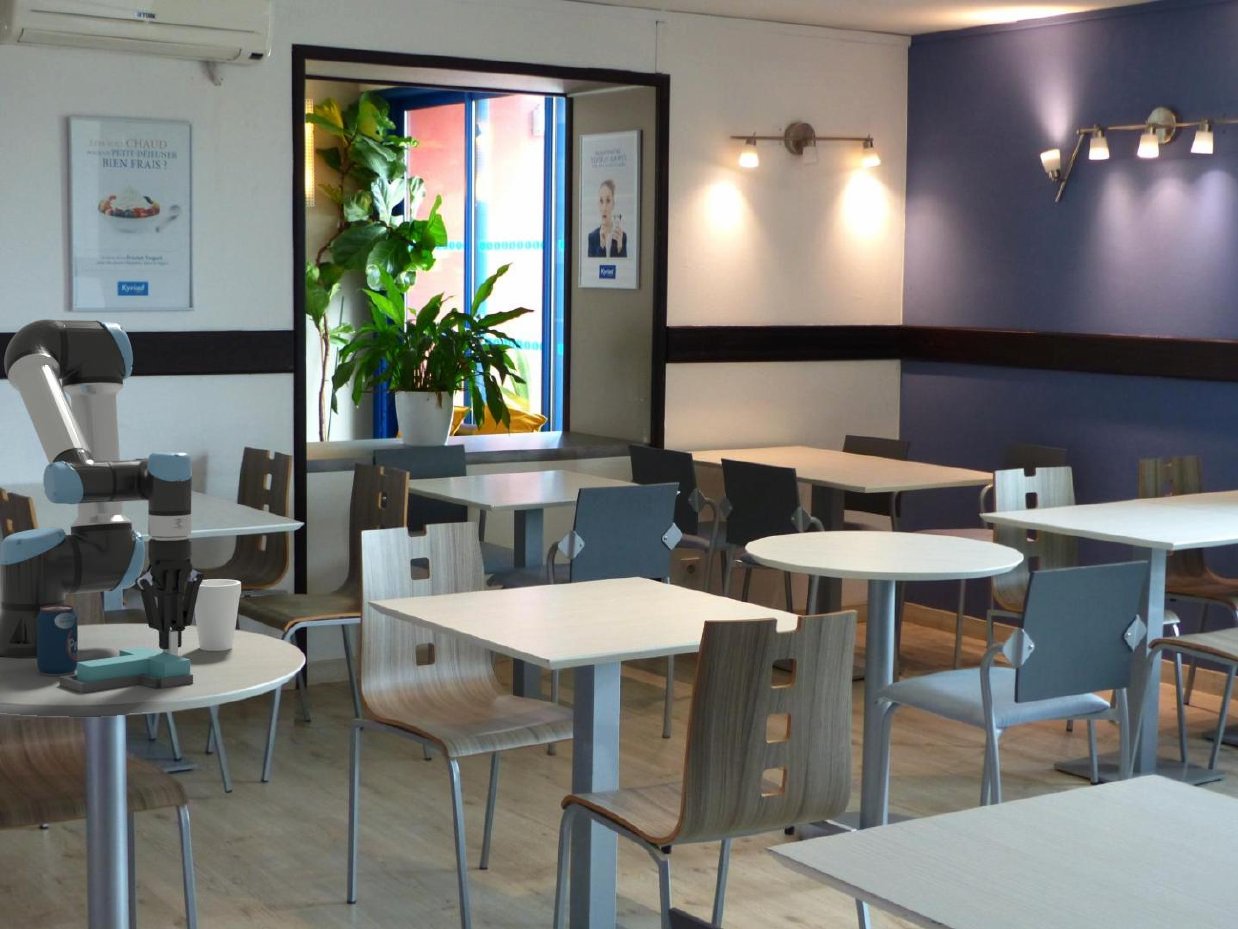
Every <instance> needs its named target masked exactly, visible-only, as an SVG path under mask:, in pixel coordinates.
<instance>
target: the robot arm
mask: <svg viewBox="0 0 1238 929" xmlns="http://www.w3.org/2000/svg"><path fill="white" fill-rule="evenodd" d="M6 347H7V348H6V349H5V353H4V354H5V355H4V359H3V360H4V362H3V365H4V371H5V374H6V378H7V380H8V382H9V384H10V386H11V387H12V388H13V389H14V390H16V391H17V392H19V394H20V397H21V399H22V401H23V404H24V407H25V408H26V412H27V414H28V416H29V417H30V418H29V419H30V420H31V423H32V425H33V428H34V430H35V432H36V435H37V437H38V439H39V442H40V444H41V447H42V450H43V451H44V454H45V457H46V459H47V461H48V464H47V465H46V467H45V469H44V472H43V479H42V481H43V483H42V484H43V487H44V494H45V497H46V498H47V500H48V501H49V502H51V503H52V504H57V505H58V504H60V505H61V504H65V505H66V504H68V505H77V517H76V519H75V520H74V521H73V522H72V523H71V524H70V534H66V532H65V529H63V528H61V527H45V528H43V527H41V528H35V529H29V530H23V531H20V532H15V533H12V534H10V535H8V536H6V537H5V538H4V539H3V540H2V543H1V546H0V548H1V549H0V608H1V609H0V657H9V658H37V617H38V615H39V613H40V611H41V610H40V608H41V607H44V606H49V605H66V595H71V594H87V593H96V592H97V593H98V592H114V591H117V590H118V591H119V590H126V589H130V588H131V587H133V586H134V585H136V586H137V588H138V589H139V591H140V595H141V599H142V600H141V601H142V603H143V608H144V612H145V616H146V621H147V626H148V628H149V629H152V630H157V632H158V647H159V649H160V650H162V652H165V653H169V654H172V655H176V656H179V648H181V647H182V646H183V645H182V643H183V642H182V639H183V638H182V637H183V636H182V632H184V631H185V629H186V627H190V626H192V623H193V618H194V615H195V605H196V600H197V595H198V591H199V586H200V584H201V582H202V581H203V580H205V574H204V573H202V572H198V570H197V571H196V570H195V569H194V567H193V564H192V562H191V560H192V559H191V558H192V555H193V554H192V551H193V550H192V548H193V546H192V544H193V542H192V540H191V538H189V537H190V536H192V484H193V483H192V480H193V478H192V476H193V470H192V460H191V456H190V455H189V454H188V453H187V452H181V451H155V452H151V453H150V454H149V456H148V457H144V458H134V459H130V460H128V459H127V460H126V459H125V460H121V457H120V441H119V440H120V437H119V424H118V422H119V421H118V407H117V405H118V404H117V395H118V394H119V392H120V391H121V390H122V389H123V388H124V381H125V380H127V379H128V378H130V377H131V375H132V371H133V367H132V366H133V365H134V364H133V363H134V358H133V349H132V345H131V342H130V339H129V336H128V334H127V332H126V331H125V330H124V328H123V327H122V326H121V325H119V324H118V323H116V322H112V321H104V320H103V321H102V320H98V319H97V320H79V319H76V320H75V319H72V320H69V319H68V320H67V319H64V320H63V319H62V320H61V319H38V320H36V321H33V322H30V323H28V324H27V325H25V326H23V327H22V328H20V329H19V330H18V331H17V332H16V333H15V334H14V335H13V337H12V338H11V340H9V342H8V345H7V346H6ZM60 380H61V381H60ZM67 395H68V396H69V397H70V402H69V399H68V397H67ZM136 501H137V502H140V501H148V502H147V504H148V512H147V513H148V523H147V524H148V525H147V526H148V527H147V533H148V534H147V535H148V536H149V537H151V538H150V539H149V540H148V542H147V543H148V544H147V545H148V546H147V547H148V550H147V551H148V561H149V564H148V567H147V568H146V573H145V574H144V575H142V577H140V576H141V574H142V572H143V568H144V566H145V565H144V564H145V558H146V557H145V553H146V548H145V542H144V540H143V539H144V538H143V535H142V534H141V532H140V531H137V530H135V529H133V524H132V520H131V519H129V518H128V517H127V516H126V515H125V513H124V506H123V504H124V503H123V502H136ZM186 582H187V583H186ZM153 584H154V585H155V592H154V589H153V587H152V585H153ZM185 584H186V586H185ZM155 593H156V595H157V597H155ZM156 598H157V600H156Z"/></svg>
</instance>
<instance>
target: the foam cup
mask: <svg viewBox="0 0 1238 929" xmlns="http://www.w3.org/2000/svg"><path fill="white" fill-rule="evenodd" d="M241 594H242V582H241V581H240V580H235V579H227V578H226V579H223V578H222V579H221V578H219V579H218V578H217V579H215V578H214V579H213V578H211V579H203V581H202V582H201V584H200V586H199V591H198V595H197V600H196V605H195V610H194V616H195V623H196V631H197V632H196V633H197V639H198V645H199V649H200V650H202V651H208V652H216V651H217V652H218V651H220V652H221V651H226V650H231V649H233V646H234V641H235V632H236V625H237V619H238V611H239V610H238V609H239V603H240V596H241Z"/></svg>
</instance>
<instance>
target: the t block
mask: <svg viewBox="0 0 1238 929" xmlns="http://www.w3.org/2000/svg"><path fill="white" fill-rule="evenodd" d="M76 674H77V680H79V681H82V682H91V681H98V680H105V679H111V678H118V677H125V676H131V675H138V674H145V675H149V676H152V677H155V678H158V679H160V678H167V677H174V676H180V675H187V674H191V659H189V658H185V657H183V656H179V655H178V656H176V655H172V654H169V653H165V652H163V651H161V650H157V649H154V648H150V647H147V646H138V647H131V648H124V649H119V650H118V656H113V657H108V658H107V657H106V658H100V659H99V658H98V659H92V660H85V661H78V662H77V668H76Z"/></svg>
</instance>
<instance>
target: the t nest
mask: <svg viewBox="0 0 1238 929" xmlns="http://www.w3.org/2000/svg"><path fill="white" fill-rule="evenodd" d="M58 677H59V678H58V679H59V681H58V683H59V686H60V687H64V688H67V689H70V690H73V691H74V692H79V693H81V694H84V693H90V692H91V693H92V692H96V691H104V690H109V689H115V688H116V689H117V688H122V687H123V688H124V687H128V686H135V685H143V686H147V687H150V688H151V689H152V688H153V689H156V690H157V689H158V690H159V689H165V688H171V687H177V686H183V685H184V686H185V685H189V684H190V685H191V684H194V674H192V673H190V674H187V675H180V676H174V677H167V678H160V679H158V678H155V677H152V676H149V675H145V674H138V675H131V676H125V677H118V678H111V679H105V680H98V681H91V682H82V681H79V680H77V673H76V674H74V673H73V674H68V675H62V676H58Z"/></svg>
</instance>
